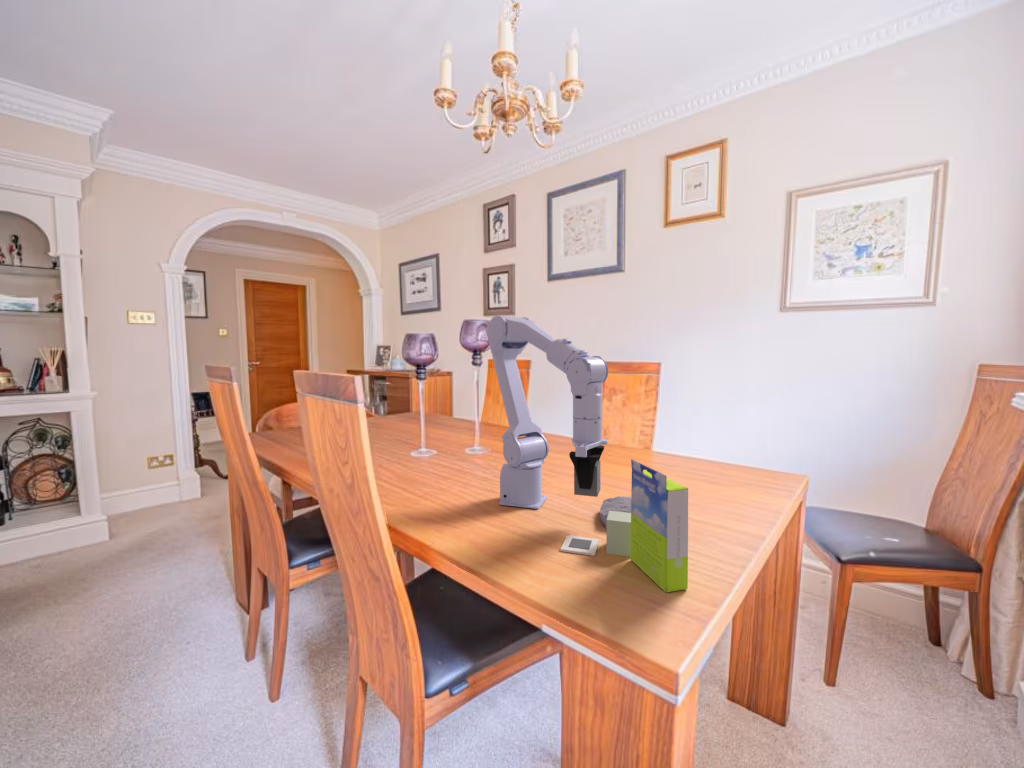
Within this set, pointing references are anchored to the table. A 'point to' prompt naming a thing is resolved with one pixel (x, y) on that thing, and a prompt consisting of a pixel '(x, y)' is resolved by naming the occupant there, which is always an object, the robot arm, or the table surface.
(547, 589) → the table surface
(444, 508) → the table surface
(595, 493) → the charcoal block
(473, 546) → the table surface
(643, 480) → the box
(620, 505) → the stone block
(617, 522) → the sage block
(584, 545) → the card
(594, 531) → the table surface
